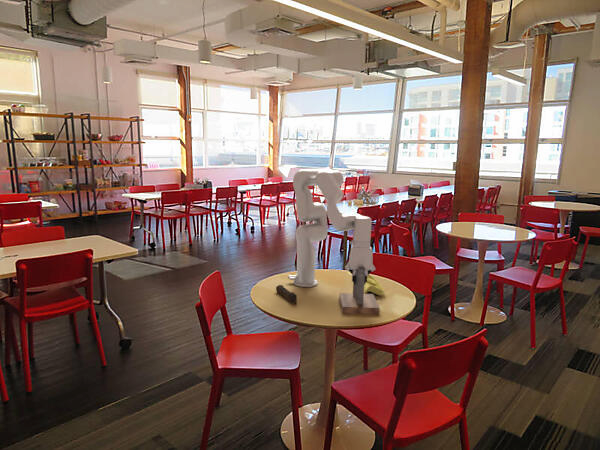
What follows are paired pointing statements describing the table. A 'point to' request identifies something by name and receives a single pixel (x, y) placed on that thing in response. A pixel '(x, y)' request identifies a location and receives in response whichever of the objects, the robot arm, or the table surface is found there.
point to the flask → (359, 285)
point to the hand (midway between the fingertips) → (359, 283)
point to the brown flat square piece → (352, 307)
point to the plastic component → (373, 286)
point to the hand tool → (287, 294)
